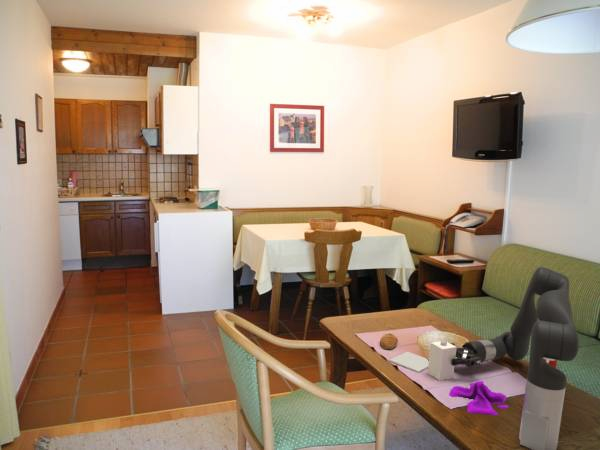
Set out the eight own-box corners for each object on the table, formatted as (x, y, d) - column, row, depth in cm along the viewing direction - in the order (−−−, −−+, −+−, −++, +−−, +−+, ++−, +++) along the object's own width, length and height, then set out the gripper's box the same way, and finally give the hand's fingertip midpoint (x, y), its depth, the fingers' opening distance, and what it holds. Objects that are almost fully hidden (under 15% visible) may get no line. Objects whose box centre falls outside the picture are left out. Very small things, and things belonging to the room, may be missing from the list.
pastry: (396, 352, 194) (397, 342, 194) (378, 349, 196) (378, 339, 195) (397, 343, 203) (398, 333, 202) (380, 340, 205) (381, 331, 204)
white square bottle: (453, 377, 174) (456, 344, 172) (439, 380, 171) (443, 346, 169) (441, 370, 179) (444, 337, 177) (427, 373, 177) (430, 339, 175)
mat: (418, 372, 177) (418, 371, 176) (389, 361, 185) (389, 360, 185) (436, 363, 185) (436, 362, 185) (407, 352, 193) (407, 351, 193)
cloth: (481, 422, 148) (483, 402, 147) (435, 393, 164) (437, 375, 163) (532, 406, 158) (535, 388, 157) (485, 381, 174) (487, 364, 173)
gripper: (465, 334, 187) (430, 339, 180) (495, 348, 175) (459, 355, 168) (463, 353, 188) (428, 359, 181) (493, 369, 176) (456, 376, 169)
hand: (443, 357), depth 174 cm, fingers open, 8 cm apart
